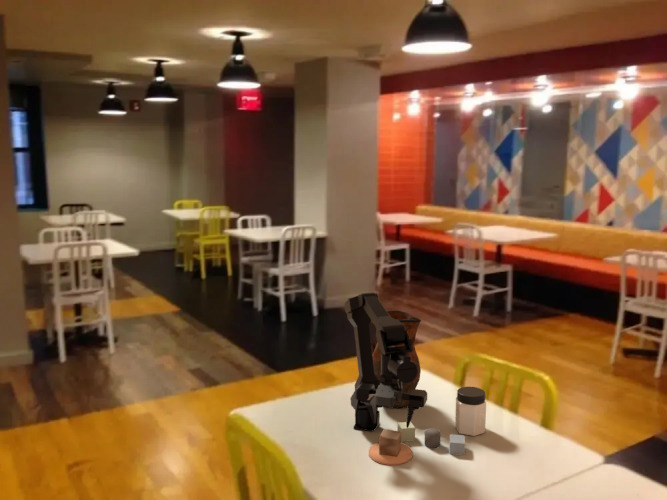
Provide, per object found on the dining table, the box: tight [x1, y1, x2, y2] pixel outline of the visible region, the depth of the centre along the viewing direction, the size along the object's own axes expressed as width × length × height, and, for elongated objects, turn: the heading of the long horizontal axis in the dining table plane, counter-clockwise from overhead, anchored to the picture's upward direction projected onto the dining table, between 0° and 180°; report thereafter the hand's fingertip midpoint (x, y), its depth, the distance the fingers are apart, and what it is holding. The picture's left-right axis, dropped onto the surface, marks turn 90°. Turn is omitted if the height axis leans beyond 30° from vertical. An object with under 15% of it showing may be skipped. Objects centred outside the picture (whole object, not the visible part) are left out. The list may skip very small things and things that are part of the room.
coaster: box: [368, 442, 413, 466], centre depth 172 cm, size 12×12×1 cm
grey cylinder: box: [424, 427, 442, 450], centre depth 177 cm, size 4×4×4 cm
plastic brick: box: [449, 434, 466, 456], centre depth 174 cm, size 4×5×4 cm
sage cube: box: [396, 421, 416, 443], centre depth 181 cm, size 4×4×4 cm
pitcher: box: [371, 310, 422, 410], centre depth 205 cm, size 17×21×30 cm
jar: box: [454, 386, 487, 437], centre depth 186 cm, size 9×8×12 cm
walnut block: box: [378, 429, 402, 457], centre depth 172 cm, size 5×5×5 cm
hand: (391, 424), depth 170 cm, fingers open, 9 cm apart
